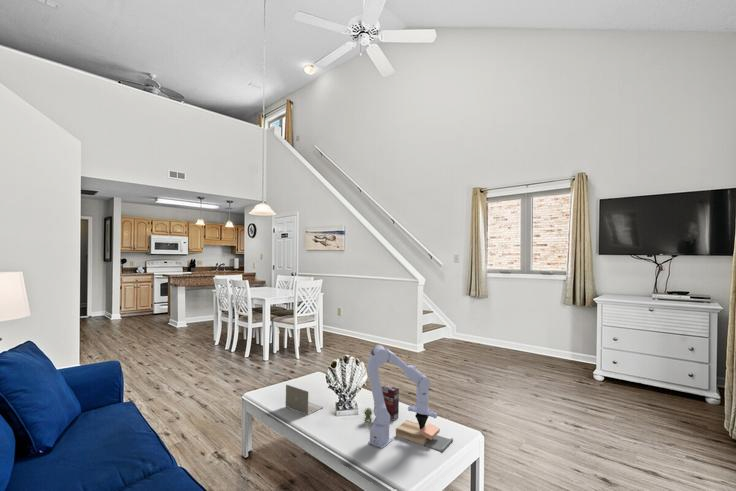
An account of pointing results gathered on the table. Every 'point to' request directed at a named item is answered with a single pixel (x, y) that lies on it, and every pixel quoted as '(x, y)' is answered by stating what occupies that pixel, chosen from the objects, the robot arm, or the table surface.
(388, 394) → the supplement box
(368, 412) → the green toy figurine
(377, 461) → the table surface
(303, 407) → the laptop
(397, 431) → the deck
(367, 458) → the table surface
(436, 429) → the block
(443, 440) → the mat
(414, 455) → the table surface
